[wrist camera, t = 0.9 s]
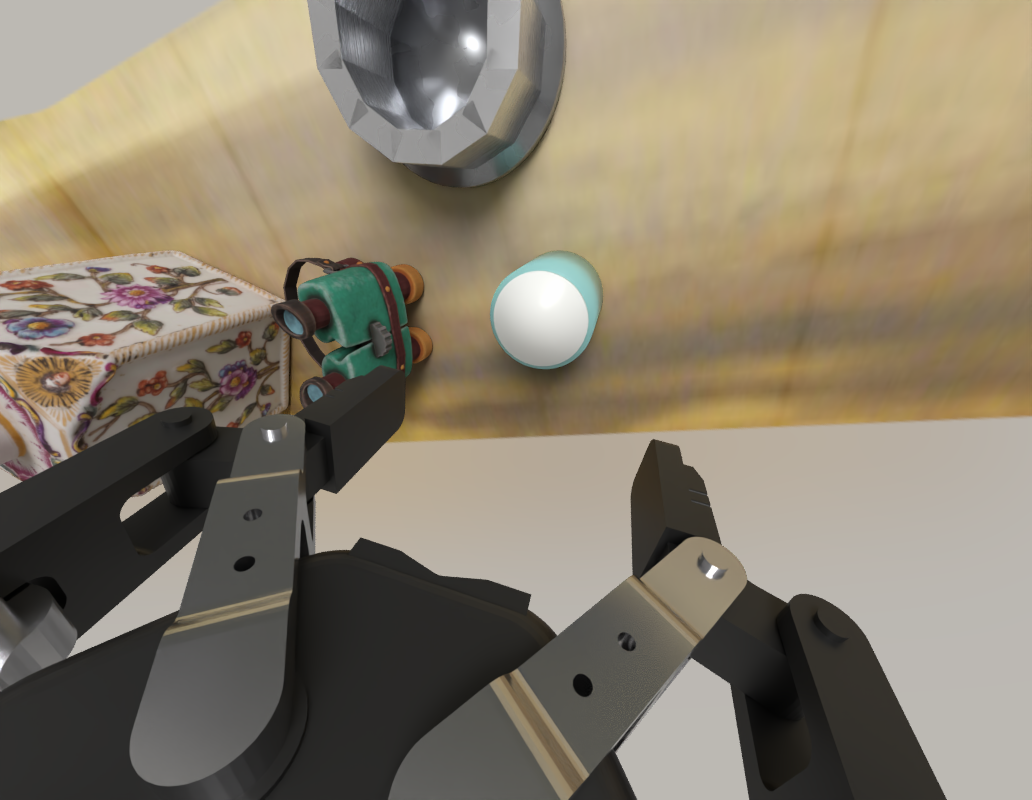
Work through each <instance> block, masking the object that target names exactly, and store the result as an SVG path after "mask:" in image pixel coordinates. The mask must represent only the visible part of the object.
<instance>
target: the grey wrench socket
mask: <svg viewBox="0 0 1032 800" xmlns="http://www.w3.org/2000/svg"><path fill="white" fill-rule="evenodd" d="M307 1H308V8H309V15H310V21H311V28H312V35H313V42H314V48H315V55H316V62H317V69H318V70H319V72H320V74H321V76H322V78H323V80H324V82H325V84H326V86H327V87H328V89H329V91H330V93H331V95H332V97H333V99H334V101H335V103H336V104H337V106H338V108H339V110H340V112H341V114H342V116H343V118H344V119H345V121H346V123H347V125H348V127H349V129H351V130H352V131H353V132H355V133H356V134H357V135H359V136H360V137H361V138H362V139H364V140H365V141H366V142H368V143H369V144H370V145H372V146H373V147H374V148H375V149H377V150H378V151H379V152H381V153H382V154H383V155H385V156H386V157H387V158H388V159H390V160H391V161H392V162H397V163H403V164H404V165H405V166H406V167H407V168H408V169H410V170H411V171H413V172H414V173H416V174H417V175H419V176H420V177H422V178H424V179H426V180H428V181H430V182H433V183H436V184H440V185H443V186H450V187H475V186H481V185H485V184H488V183H491V182H494V181H496V180H498V179H500V178H502V177H504V176H506V175H507V174H508V173H510V172H511V171H512V170H514V169H515V168H517V167H518V166H519V165H520V164H521V163H522V162H523V161H524V160H525V159H526V158H527V157H528V156H529V154H530V153H531V152H532V151H533V150H534V148H535V147H536V146H537V144H538V143H539V141H540V139H541V138H542V136H543V135H544V133H545V131H546V129H547V127H548V125H549V123H550V121H551V119H552V116H553V114H554V111H555V108H556V105H557V103H558V99H559V95H560V91H561V87H562V83H563V77H564V70H565V62H566V29H565V19H564V13H563V6H562V1H561V0H307Z"/></svg>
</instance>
